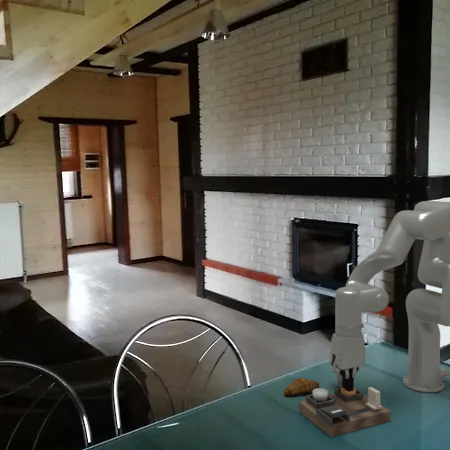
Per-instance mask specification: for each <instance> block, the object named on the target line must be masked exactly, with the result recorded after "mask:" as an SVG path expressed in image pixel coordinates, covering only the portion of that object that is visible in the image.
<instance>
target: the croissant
mask: <svg viewBox="0 0 450 450" xmlns="http://www.w3.org/2000/svg"><path fill="white" fill-rule="evenodd" d="M316 388H320V382H319V381H316V380H313V379H309V378H306V377H299V378H298V377H297V378H296V379H294V380H293V381H292V382H291V383H290V384H288V385H287V386H286V388H285V389H284V390H283V394H284V395H283V396H285V397H298V396H303V395H308V394H310V393H312V392H313V390H314V389H316Z"/></svg>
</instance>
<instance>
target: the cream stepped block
mask: <svg viewBox="0 0 450 450" xmlns="http://www.w3.org/2000/svg"><path fill="white" fill-rule="evenodd" d="M367 397H368V403H366V406H368V407H370V408H371V409H373V410H378V409H382V406H383V405H382V404H381V391H379V390H377V389H376V388H374V387H372V386H370V387H368V388H367ZM381 405H382V406H381Z"/></svg>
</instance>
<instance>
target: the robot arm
mask: <svg viewBox="0 0 450 450" xmlns="http://www.w3.org/2000/svg"><path fill="white" fill-rule="evenodd" d="M415 240H422V241H423V245H422V251H421V255H420V259H419V264H418V269H417V278H418V281H419V282H421V284H424V285H426V286H430V287H434V288H438V289H441V292H439V291H435V290H430V289H426V288H416V289H413V290H411V291H410V292H409V293H408V294H407V296H406V299H405V308H406V309H405V310H406V313H407V321H408V364H407V366H408V367H407V369H408V371H407V372H408V373H407V375H405V376H403V378H402V383H403V385H404V386H405V387H407V388H409V389H410V390H413V391H417V392H420V393H437V392H441V391H443V390H444V389H445V382H444V381H443V380H442V379H443V378H444V377H448V376H450V370H449V369H443V370H441V369H440V368H441V367H440V365H441V364H440V363H441V362H440V361H441V360H440V359H441V331H440V325H441V326H444V327H450V201H439V200H425V201H424V200H423V201H420V202H418V203H417V204H415V206H414V209H413V210H408V209H407V210H401V211H399V212H397V213H396V214H395V215H394V217H393V218H392V221H391V222H390V224H389V226H388V229H386V232H385V234H384V236H383V238H382V239H381V241H380V244H378V247H377V248H376V250H375V251H374V252H372V253H371V254H370V255H368V256H366V257H365V258H364V259H363V260H361V262H359V263H358V264H357V265H356V266H355V268H354V269H353V270H352V272H351V274H350V276H349V278H348V279H347V280H346V283H345V286H342V287H339V288H338V289H336V291H335V297H334V298H335V301H334V302H335V303H334V304H335V307H334V308H335V309H334V311H335V312H334V313H335V315H334V316H335V321H334V322H335V325H334V326H335V327H334V329H335V330H334V331H335V332H334V333H333V334H332V336H331V339H330V340H331V341H330V349H329V365H330V366H332V368H331V373H333V374H335V375H336V374H340V375H341V376H342V386H343V388H344V389H345V390H347V391H348V392H349V391H353V390H354V388H355V387H354V385H355V383H354V382H355V378H356V375H357V372H358V371H359V370H362V369H363V368H364V367H365V364H366V345H365V344H366V343H365V338H364V335H363V332H362V329H364V328H365V325H364V323H362V319H363V317H362V316H363V314H362V313H379V312H381V311H383V310H385V309H386V307H388V305H389V302H390V297H389V294H388V292H387V291H386V290H385V289H384V288H382V287H379V286H377V285H373V284H369V282H370V281H371V280H372V278H374V277H375V276H376V275H377V274H379V273H381V272H382V271H385V270H388V269H389V270H390V269H392V268H395V267H398V266H401V265H402V264H403V263H404V262H405V260H406V258H407V256H408V254H409V252H410V250H411V247H412V246H413V244H414V242H415Z"/></svg>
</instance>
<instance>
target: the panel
mask: <svg viewBox="0 0 450 450" xmlns="http://www.w3.org/2000/svg"><path fill="white" fill-rule="evenodd" d="M355 389H356V394H355V395H350V396H345V395H344V394H342V393H341V388H340V387H338V388H335V389H334V390H333V391H334V392H333V393H331V394H328V399H327V400H324V401H318V400H315V399H313V393H312V394H309V395H308V394H306V396H305V399H304V400H301V401H299V404H298V406H299V407H298V408H299V409H298V411H299V413H301V414H302V415H303V416H304V417H306V418H307V419H308V420H309V421H310V422H312V423H313V424H314V425H315V426H317V427H318V428H319V429H320V430H322V431H323V432H324V433H325V434H327V435H328V436H329V437H330V438H334V437H337V436H341V435H346V434H348V433H351V432H356V431H359V430H362V429H363V430H364V429H366V428H370V427H373V426H377V425H381V424H383V423H384V424H385V423H388V422H391V421H392V420H391V419H392V418H391V417H392V416H391V414H392V413H391V412H392V411H391V409H389V408H387V407H385V406H384V405H382V404H380V405H381V406H382V409H378V410H373V409H371V408H370V407H368V406H366V403H368V395H366V394H364V393H363V392H362V391H360V390H358V389H357V388H355ZM332 405H333V406H335V407H338V408H340V409H343V410H345V411H346V415H342V416H338V417H335V418H331V417H329V416H327V415H326V414H325V413H323V412H322V411H321V410H320V408H324V407H328V406H332Z"/></svg>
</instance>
